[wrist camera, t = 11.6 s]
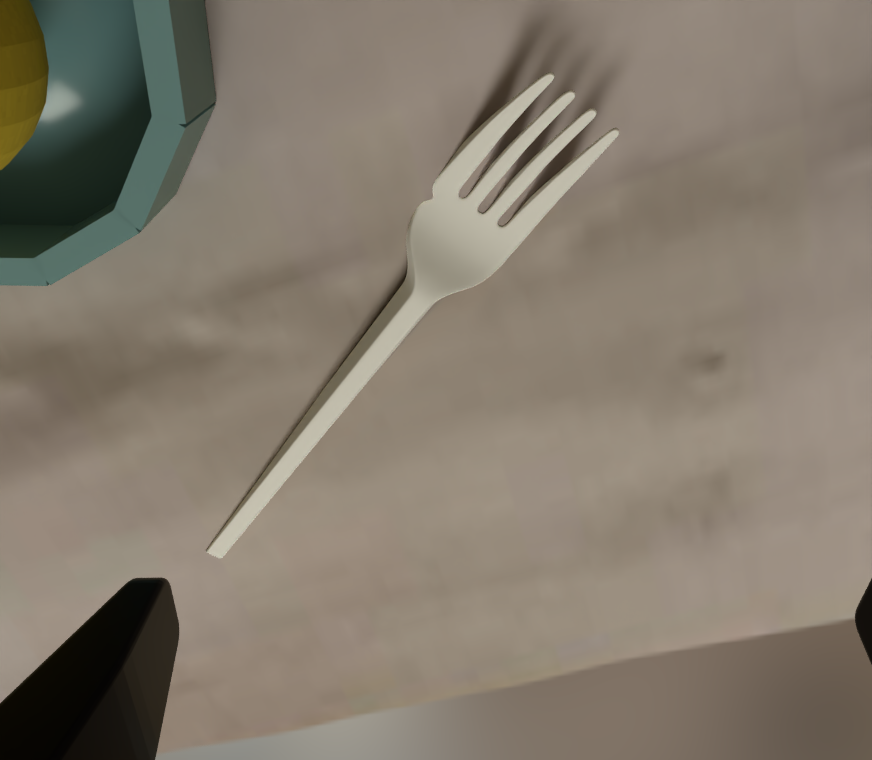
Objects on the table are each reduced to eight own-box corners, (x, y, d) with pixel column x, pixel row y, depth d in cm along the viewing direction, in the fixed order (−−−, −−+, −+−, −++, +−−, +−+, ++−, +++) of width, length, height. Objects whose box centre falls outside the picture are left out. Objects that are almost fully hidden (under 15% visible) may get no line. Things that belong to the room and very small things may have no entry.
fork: (177, 523, 26) (161, 561, 24) (524, 48, 18) (536, 58, 16) (254, 559, 27) (245, 597, 25) (616, 126, 19) (634, 143, 17)
